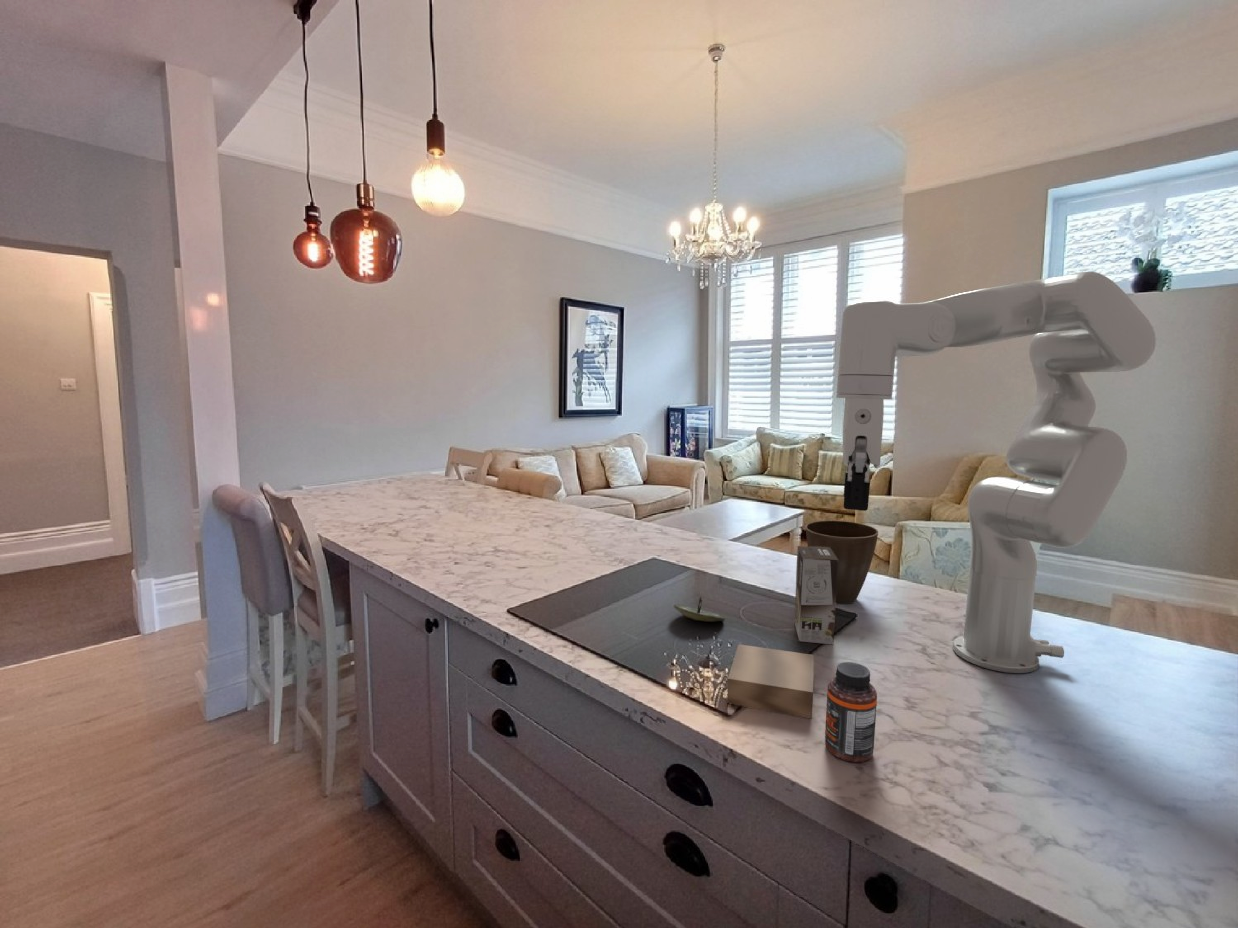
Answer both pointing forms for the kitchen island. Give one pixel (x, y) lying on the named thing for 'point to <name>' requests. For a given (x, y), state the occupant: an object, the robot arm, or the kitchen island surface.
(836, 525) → the plant pot
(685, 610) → the lid
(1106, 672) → the kitchen island surface
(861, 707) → the supplement bottle
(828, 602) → the coffee box
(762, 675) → the tan block
